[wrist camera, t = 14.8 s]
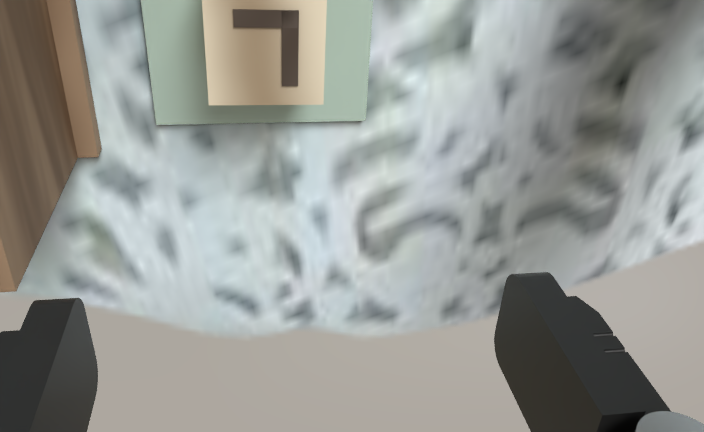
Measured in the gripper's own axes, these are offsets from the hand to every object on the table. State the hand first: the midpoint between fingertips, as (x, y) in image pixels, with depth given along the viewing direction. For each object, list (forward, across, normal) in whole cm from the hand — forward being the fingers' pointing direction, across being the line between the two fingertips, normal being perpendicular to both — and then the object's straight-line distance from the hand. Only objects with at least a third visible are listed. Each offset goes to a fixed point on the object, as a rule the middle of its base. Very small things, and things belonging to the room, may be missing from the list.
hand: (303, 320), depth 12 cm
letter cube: (+22, 0, 0) cm, 22 cm away
